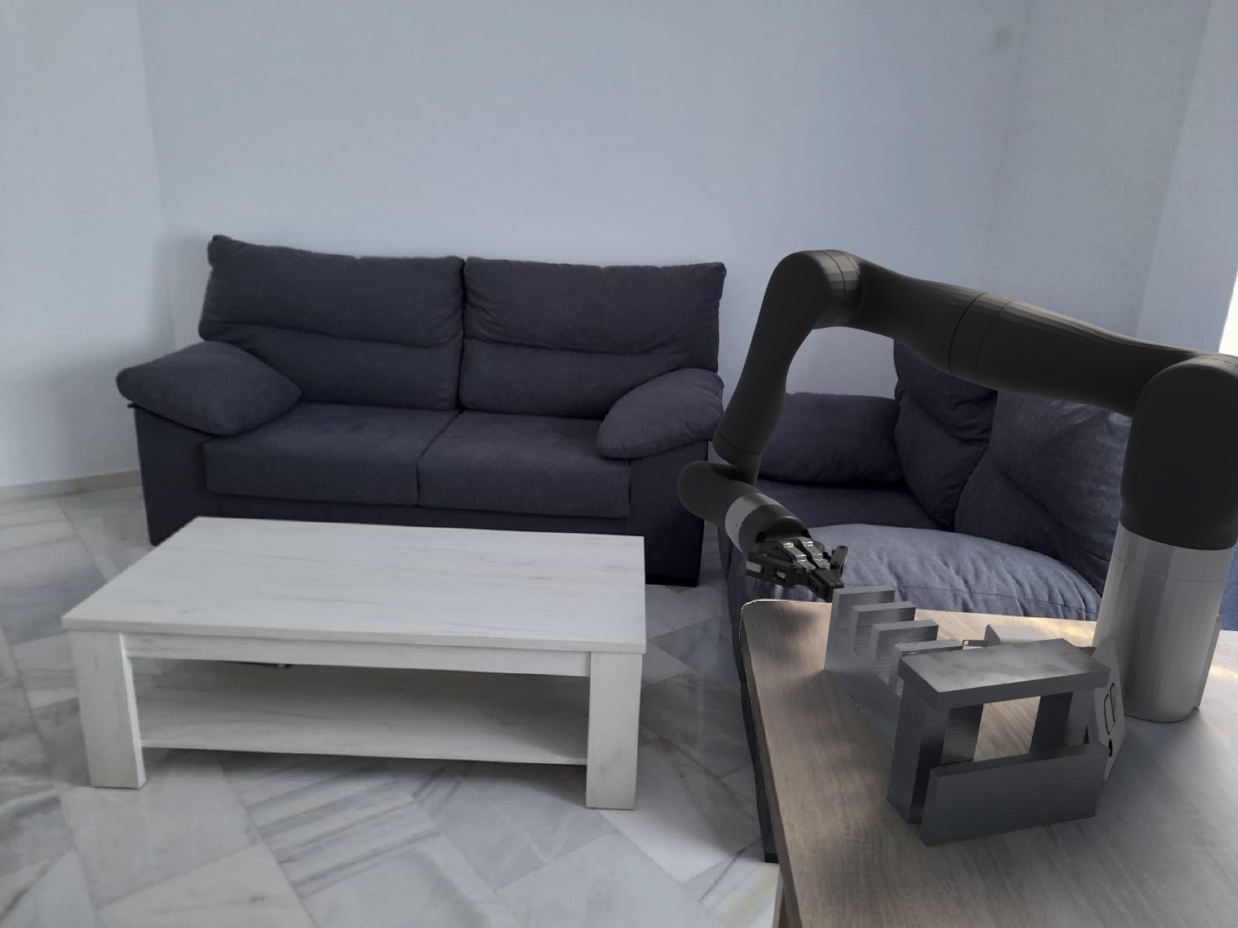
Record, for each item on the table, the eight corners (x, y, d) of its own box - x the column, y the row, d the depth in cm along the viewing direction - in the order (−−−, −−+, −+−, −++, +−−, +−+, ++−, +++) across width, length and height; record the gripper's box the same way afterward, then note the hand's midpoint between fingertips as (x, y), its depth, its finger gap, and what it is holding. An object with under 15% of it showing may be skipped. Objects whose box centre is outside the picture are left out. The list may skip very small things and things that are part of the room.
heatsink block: (877, 664, 90) (888, 584, 87) (973, 760, 75) (990, 667, 72) (823, 670, 88) (833, 588, 86) (911, 768, 74) (926, 674, 71)
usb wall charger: (1038, 678, 88) (1045, 642, 87) (969, 674, 88) (975, 639, 87) (1022, 657, 92) (1028, 623, 91) (955, 654, 92) (961, 620, 91)
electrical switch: (1104, 788, 72) (1115, 684, 70) (1036, 767, 75) (1044, 667, 73) (1126, 737, 79) (1136, 641, 77) (1063, 720, 82) (1071, 628, 80)
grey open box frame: (1036, 764, 74) (1062, 637, 71) (1094, 815, 68) (1126, 679, 65) (879, 789, 70) (899, 657, 67) (927, 846, 64) (951, 703, 61)
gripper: (717, 506, 104) (780, 565, 88) (818, 500, 107) (897, 556, 91) (712, 564, 106) (774, 632, 90) (811, 556, 110) (887, 621, 94)
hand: (835, 594), depth 91 cm, fingers closed
